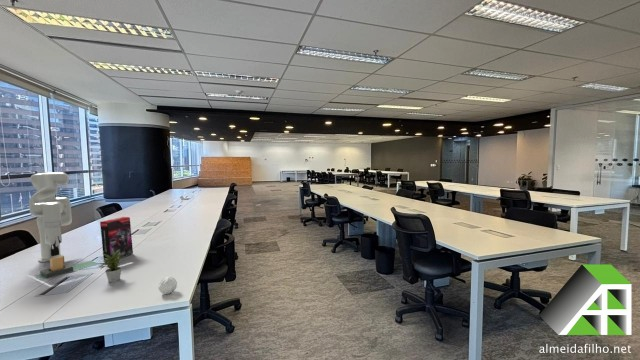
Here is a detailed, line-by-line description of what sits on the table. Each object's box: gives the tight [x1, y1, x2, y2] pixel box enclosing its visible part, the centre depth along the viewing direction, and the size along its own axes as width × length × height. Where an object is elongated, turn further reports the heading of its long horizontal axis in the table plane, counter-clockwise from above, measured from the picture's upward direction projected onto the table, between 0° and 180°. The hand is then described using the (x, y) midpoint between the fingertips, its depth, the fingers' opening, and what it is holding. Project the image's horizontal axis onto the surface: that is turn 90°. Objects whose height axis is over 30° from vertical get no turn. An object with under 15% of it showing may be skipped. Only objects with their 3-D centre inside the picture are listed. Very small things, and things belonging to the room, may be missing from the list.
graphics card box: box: [99, 216, 134, 261], centre depth 186 cm, size 17×7×27 cm, turn 168°
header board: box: [35, 260, 100, 280], centre depth 164 cm, size 13×26×4 cm, turn 151°
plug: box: [49, 255, 66, 271], centre depth 159 cm, size 4×6×9 cm, turn 152°
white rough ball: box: [158, 276, 178, 295], centre depth 132 cm, size 8×8×8 cm
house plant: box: [97, 250, 126, 283], centre depth 150 cm, size 14×14×16 cm
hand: (55, 255), depth 158 cm, fingers closed
